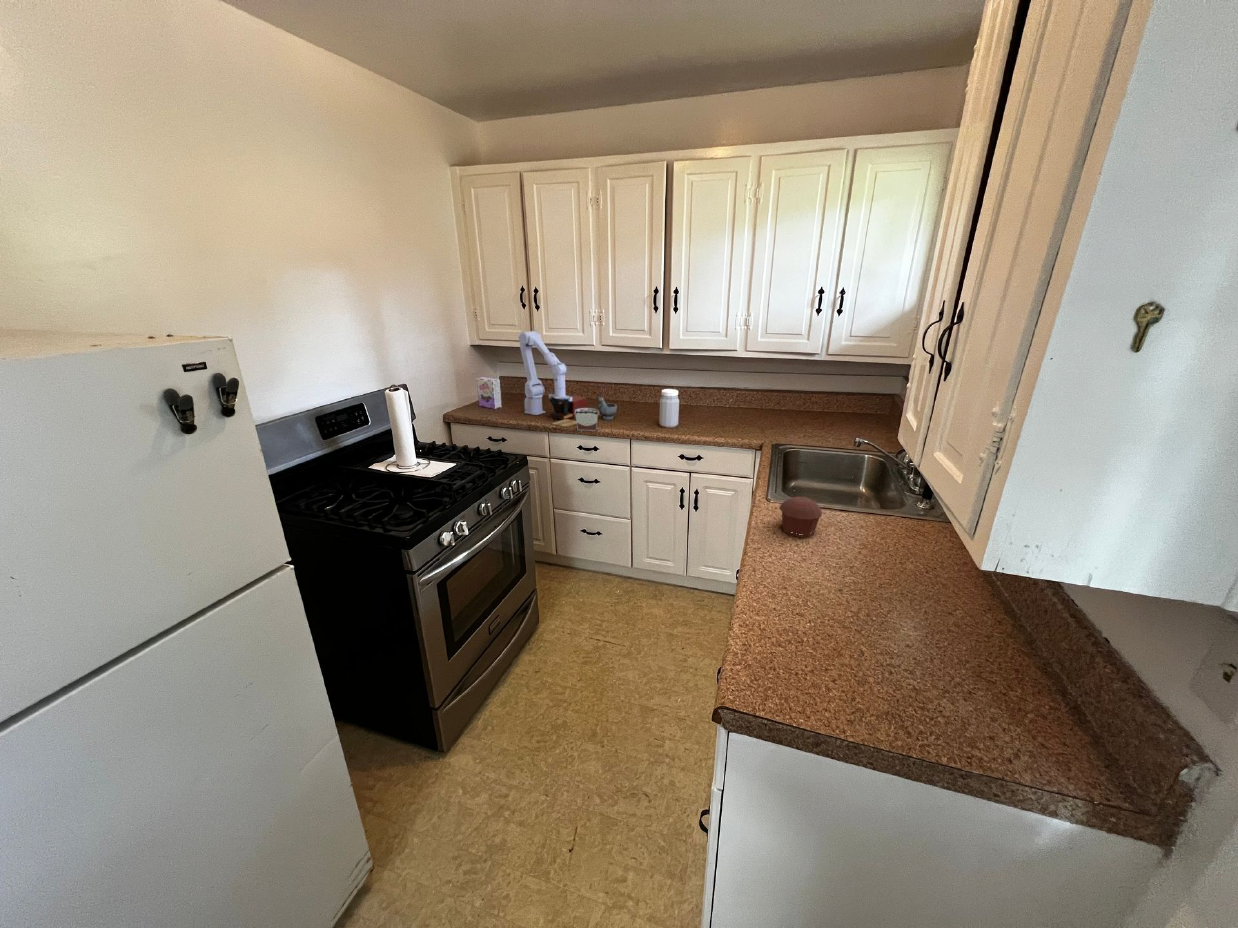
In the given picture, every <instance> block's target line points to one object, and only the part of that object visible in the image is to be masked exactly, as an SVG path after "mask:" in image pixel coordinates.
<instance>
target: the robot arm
mask: <svg viewBox="0 0 1238 928" xmlns="http://www.w3.org/2000/svg"><path fill="white" fill-rule="evenodd" d="M518 343H519V348H520V353H521V358H522V362H523V367H524V370H525V371H524V372H525V376H526V380H527V381H526V382H525V383H524V394H525V396H526V397H525V398H524V412H523V413H524V414H529V415H533V416H538V415H542V414H546V412H547V411H545V410H543V396H544V395H545V387H544V385H543V383H542V381H541V379H539V378H538V374H537V370H536V365H535V360H534V356H533V353H532V352H533V351H532V349H533V348H534V347H535V348H536V349H537V350H538V351H539V352H540V353H541V354H542V356H544V358H543V359H544V361H545V363H546V364H547V365H548V366H549V368H550V369H551V370H550V372H551V375H552V378H553V382H554V383H553V384H554V386H553V389H554V393H549V394H548V399H549V402H550V403H551V405H552V409H553V412H555V403H557V402H559V399H561V400H564V401H562V405H563V412H564V414H567V412H568V408H569V405H570V403H571V401H572V397H569V396H570V395H566V394H567V392H566V391H567V390H566V374H567V373H568V367H567V365H566V364H565V363H564V362H561V361H560V360H559V358H557V356H556V354H555V353H553V352H550V350H549V349H548V347H547V346H546V345H545V343H544V341H543V340H542V335H541V334H540V333H539V332H538V330H530V331H521V332H520V333H519V335H518Z"/></svg>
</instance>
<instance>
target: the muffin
mask: <svg viewBox="0 0 1238 928" xmlns="http://www.w3.org/2000/svg"><path fill="white" fill-rule="evenodd" d="M779 510H780V511H781V525H782V531H783V532H785V533H786V534H788V535H789V536H791V537H797V538H798V539H799V538H810V537H811V536H813V535H814V534H815V531H816V528H817V526H818V523H819V520H820V518H821V517H822V514H823V511H822V508H821V507H820V506H819V504H817V502H815V501H814V500H812V499H810V498H808V497H805V496H793V497H790V498H788V499H786V500H784V501H782V503H781V504H780V505H779ZM813 531H814V532H813ZM791 532H793V533H791ZM811 532H812V533H811ZM796 533H797V534H796ZM810 533H811V534H810ZM799 534H803V535H799Z"/></svg>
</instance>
